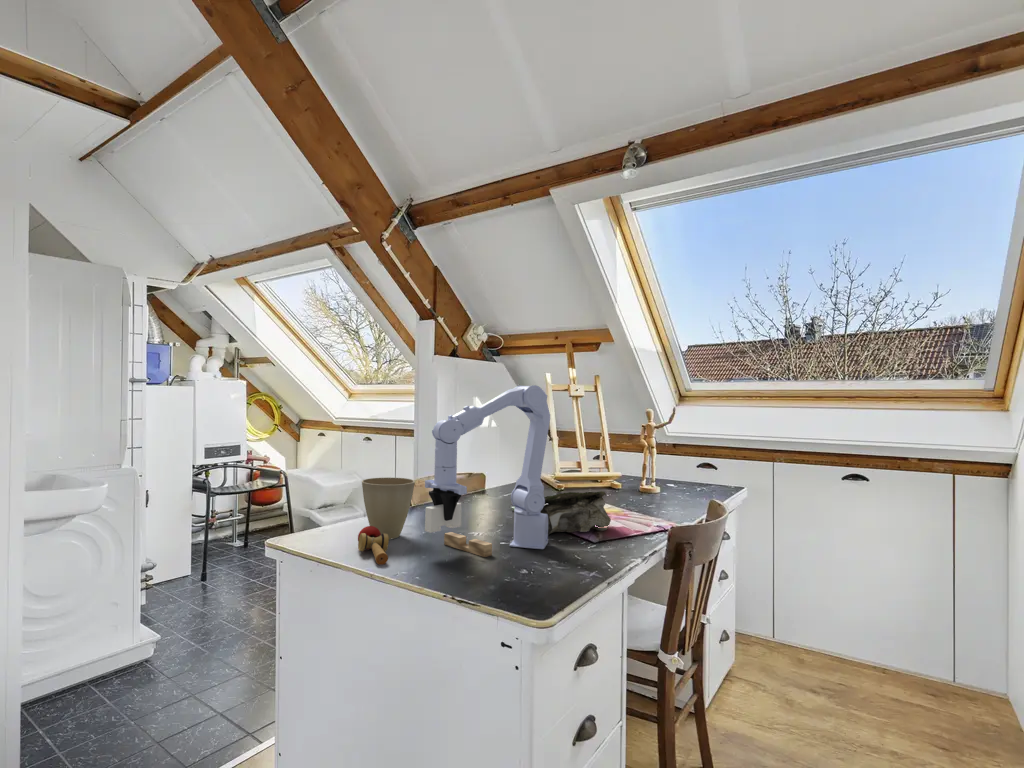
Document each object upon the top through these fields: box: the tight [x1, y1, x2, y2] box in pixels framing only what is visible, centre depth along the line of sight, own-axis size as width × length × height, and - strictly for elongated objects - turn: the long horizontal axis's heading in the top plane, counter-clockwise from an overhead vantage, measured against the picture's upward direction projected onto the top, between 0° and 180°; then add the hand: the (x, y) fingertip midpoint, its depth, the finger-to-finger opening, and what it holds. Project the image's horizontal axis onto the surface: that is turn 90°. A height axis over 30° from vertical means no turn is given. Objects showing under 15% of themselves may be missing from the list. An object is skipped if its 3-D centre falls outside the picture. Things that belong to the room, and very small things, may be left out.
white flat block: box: [424, 502, 462, 534], centre depth 143 cm, size 2×10×6 cm, turn 137°
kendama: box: [357, 525, 390, 566], centre depth 140 cm, size 8×6×18 cm
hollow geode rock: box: [540, 490, 611, 536], centre depth 168 cm, size 28×13×15 cm
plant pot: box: [361, 476, 416, 540], centre depth 158 cm, size 15×15×16 cm
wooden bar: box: [443, 531, 493, 558], centre depth 147 cm, size 16×2×3 cm, turn 47°
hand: (444, 518), depth 143 cm, fingers closed on white flat block, 2 cm apart
